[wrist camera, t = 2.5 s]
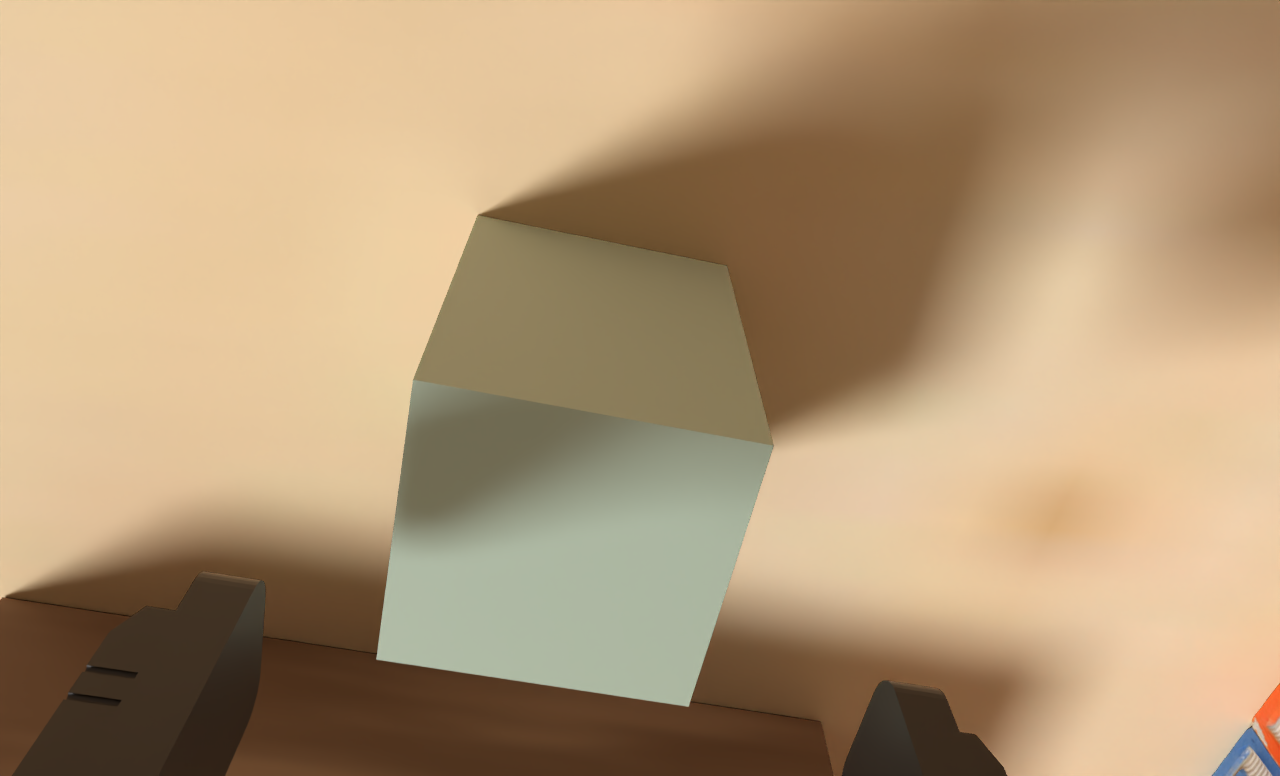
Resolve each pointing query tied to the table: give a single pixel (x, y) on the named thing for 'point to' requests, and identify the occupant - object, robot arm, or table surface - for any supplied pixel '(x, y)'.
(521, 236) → the sage block
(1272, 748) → the stack of blocks
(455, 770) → the block
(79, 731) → the robot arm
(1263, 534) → the table surface
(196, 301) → the table surface
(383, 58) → the table surface
